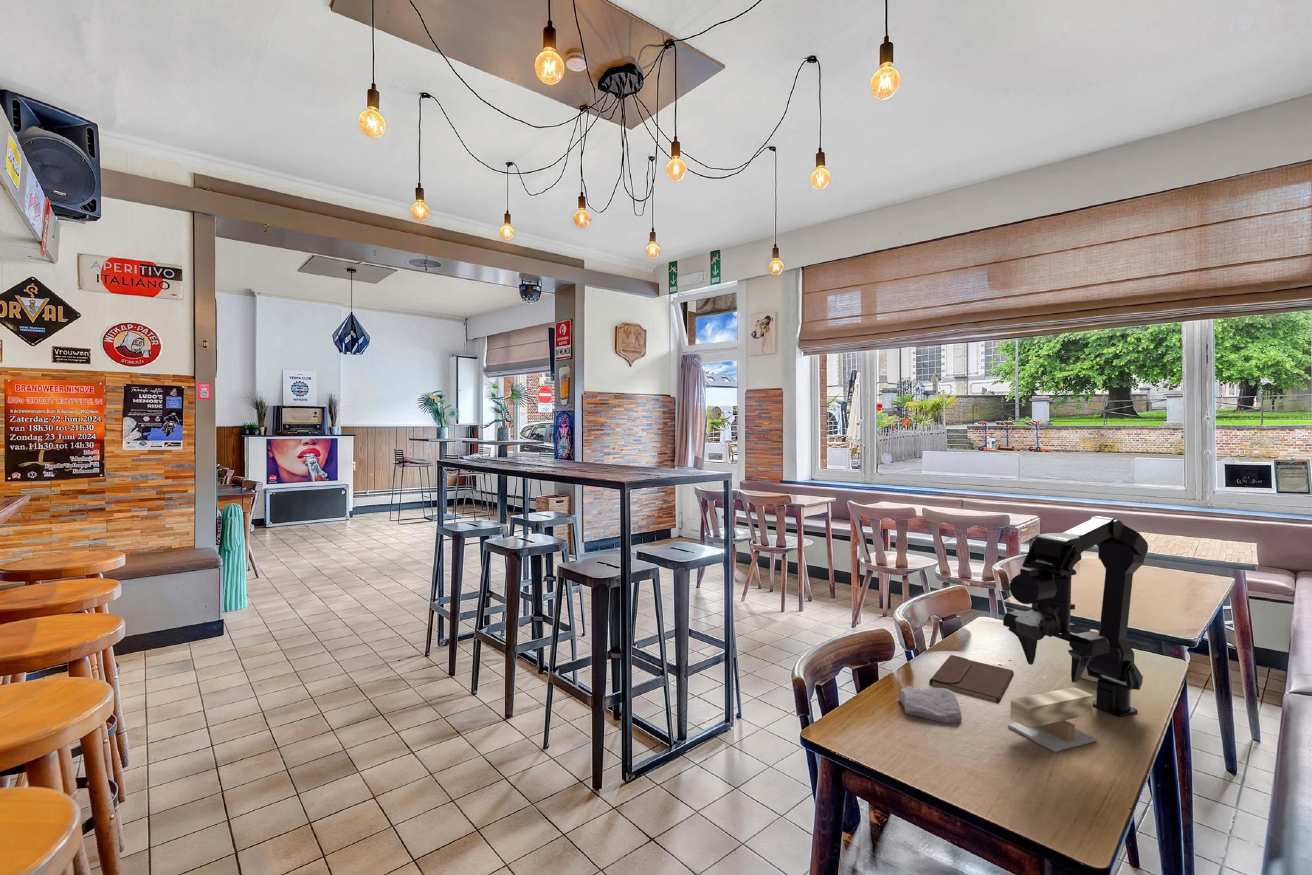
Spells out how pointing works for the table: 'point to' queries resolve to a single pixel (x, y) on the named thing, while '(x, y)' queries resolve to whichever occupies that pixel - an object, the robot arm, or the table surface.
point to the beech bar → (1051, 707)
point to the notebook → (973, 678)
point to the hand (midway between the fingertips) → (1051, 672)
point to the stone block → (931, 704)
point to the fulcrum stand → (1055, 735)
